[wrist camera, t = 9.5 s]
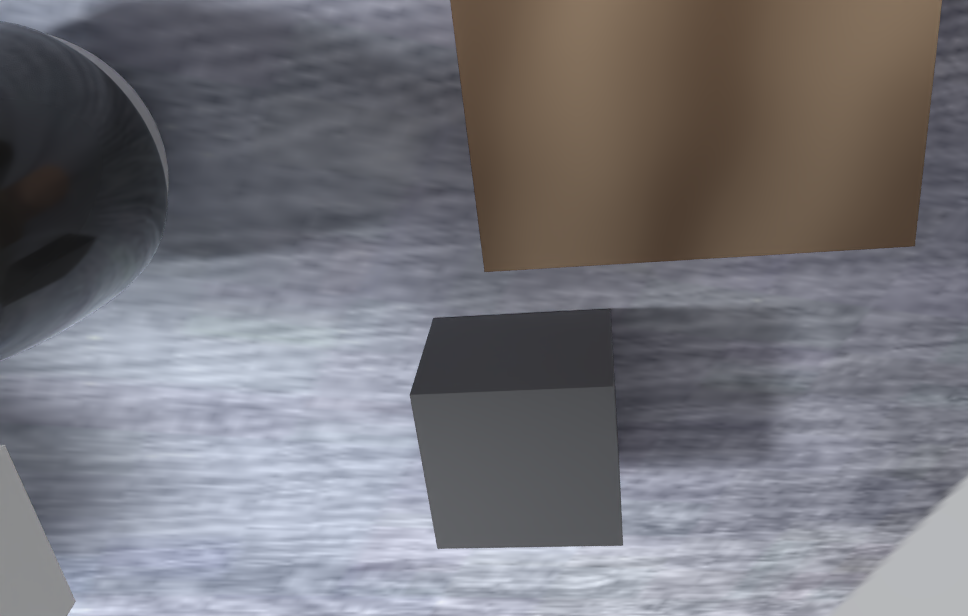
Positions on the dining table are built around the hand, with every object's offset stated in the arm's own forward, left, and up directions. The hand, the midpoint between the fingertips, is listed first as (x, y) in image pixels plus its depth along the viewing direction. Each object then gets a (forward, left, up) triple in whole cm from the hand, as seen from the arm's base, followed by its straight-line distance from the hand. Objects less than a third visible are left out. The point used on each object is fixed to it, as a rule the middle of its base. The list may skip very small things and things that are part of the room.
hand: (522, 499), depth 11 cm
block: (-2, -13, -23) cm, 26 cm away
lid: (+3, +2, -17) cm, 17 cm away
